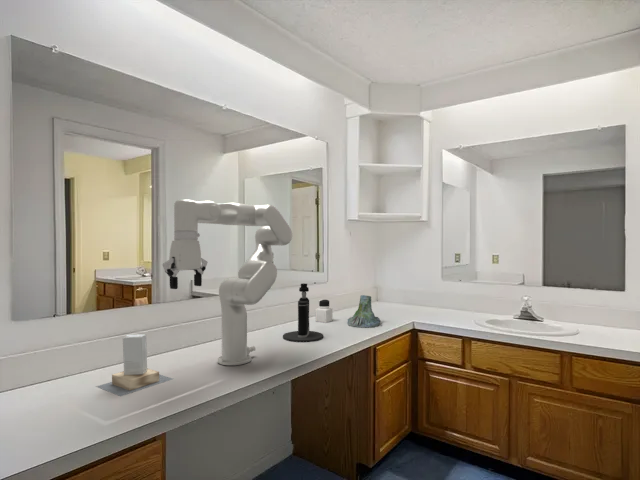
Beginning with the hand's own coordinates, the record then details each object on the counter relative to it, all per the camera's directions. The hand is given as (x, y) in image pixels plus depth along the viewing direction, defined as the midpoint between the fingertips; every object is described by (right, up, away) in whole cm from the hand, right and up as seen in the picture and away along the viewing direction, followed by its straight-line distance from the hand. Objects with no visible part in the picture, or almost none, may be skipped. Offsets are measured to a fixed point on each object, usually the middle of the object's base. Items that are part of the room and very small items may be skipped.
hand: (186, 287), depth 139 cm
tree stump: (+69, -30, +86) cm, 115 cm away
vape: (+37, -30, +56) cm, 74 cm away
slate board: (-14, -30, -7) cm, 34 cm away
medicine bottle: (+47, -30, +94) cm, 109 cm away
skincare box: (-14, -27, -8) cm, 31 cm away
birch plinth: (-14, -30, -7) cm, 33 cm away
